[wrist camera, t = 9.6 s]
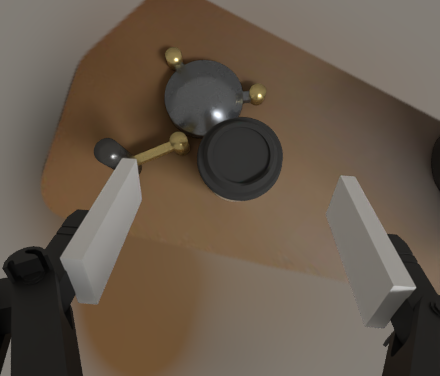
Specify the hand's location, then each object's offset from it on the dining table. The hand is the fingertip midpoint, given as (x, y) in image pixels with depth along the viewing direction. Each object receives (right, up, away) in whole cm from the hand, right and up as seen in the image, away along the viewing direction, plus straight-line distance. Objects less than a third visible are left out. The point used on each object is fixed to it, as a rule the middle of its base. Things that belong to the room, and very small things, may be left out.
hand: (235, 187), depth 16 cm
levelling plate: (-3, +13, +29) cm, 32 cm away
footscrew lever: (-10, +4, +28) cm, 30 cm away
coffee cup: (+1, +1, +28) cm, 28 cm away
